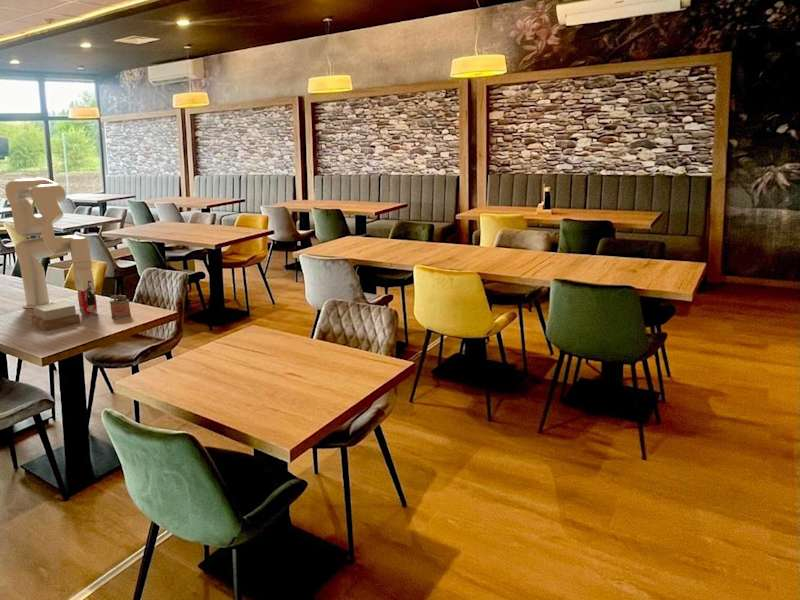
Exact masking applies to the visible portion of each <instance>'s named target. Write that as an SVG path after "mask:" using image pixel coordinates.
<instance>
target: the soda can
mask: <svg viewBox="0 0 800 600" xmlns="http://www.w3.org/2000/svg"><path fill="white" fill-rule="evenodd" d="M87 290H90V289H87ZM90 292H91V291H90ZM94 294H95V305H91V306H88V303H87V297H88V296H87V294H86V291H85V292H83V291H80V290H79V291H78V290H77V300H78V307H79V312H80V314H81V315H82V316H86V317H88V316H95V315H96V314H97V313H98V305H97V303H98V302H97V297H96V292H95V293H94Z"/></svg>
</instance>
